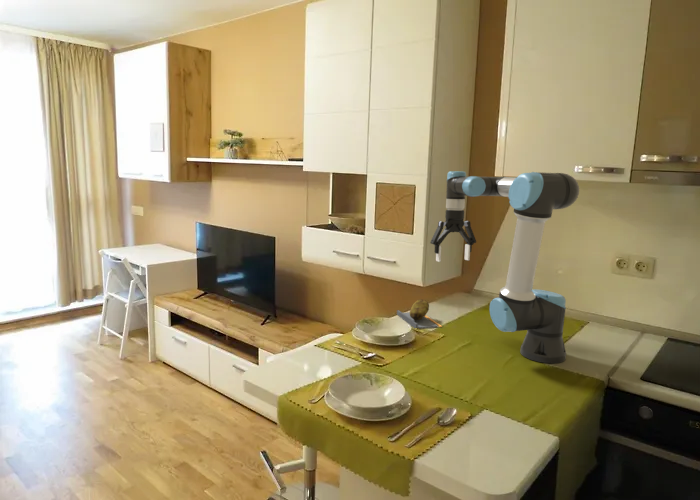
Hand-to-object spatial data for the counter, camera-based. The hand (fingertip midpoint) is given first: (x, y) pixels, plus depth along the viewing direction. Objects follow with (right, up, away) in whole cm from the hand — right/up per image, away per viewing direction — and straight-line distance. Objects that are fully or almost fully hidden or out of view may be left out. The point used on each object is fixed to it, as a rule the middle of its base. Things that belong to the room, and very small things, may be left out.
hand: (452, 260), depth 212 cm
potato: (-14, -25, +5) cm, 29 cm away
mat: (-14, -26, +6) cm, 30 cm away
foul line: (-8, -25, +8) cm, 28 cm away
